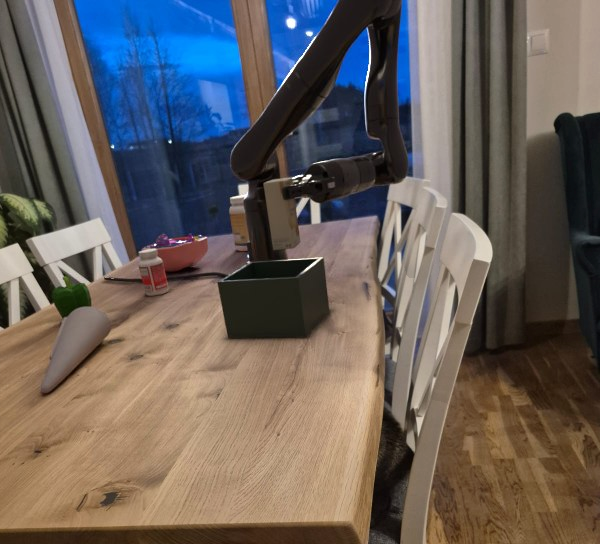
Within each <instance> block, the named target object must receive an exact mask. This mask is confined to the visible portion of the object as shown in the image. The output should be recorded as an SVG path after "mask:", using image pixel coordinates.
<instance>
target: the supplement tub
mask: <svg viewBox="0 0 600 544" xmlns="http://www.w3.org/2000/svg"><path fill="white" fill-rule="evenodd" d="M246 195H247V194H241V195H236V196H232V197H229V201H230V202H229V203H230V204H231V206H230V207H229V211H228V213H229V218H230V225H231V230H232V237H233V243H234V247H235V249H236V250H237V251H239V252H248V250H247V242H249V237H248V230H247V224H246V218H245V212H244V206H243V200H244V198H245V196H246Z"/></svg>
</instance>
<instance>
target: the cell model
mask: <svg viewBox="0 0 600 544" xmlns="http://www.w3.org/2000/svg"><path fill="white" fill-rule="evenodd" d="M147 249H157V252H158V255H157V257H159V258H161V259H162V261H163V266H164V270H165V272H167V273H173V272H175V273H176V272H179V271H181V270H183V269H186V268H190V267H194V266H195V265H198V264H199V263H200V262H201V261H202V260H203V259H204V258H205V256H206V255H207V253H208V250H209V242H208V237H207V236H203V235H201V234H199V235H196V236H193V235H192V233H188V236H183V237H175V238H169V237H168V236H167V234H165V233H161V234H160V235H159V236H158V237H157V238H156V240H155V242H154V243H151V244H148V245H145V246H144V247H142V248H141V251H143V250H147Z"/></svg>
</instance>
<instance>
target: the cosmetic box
mask: <svg viewBox="0 0 600 544" xmlns="http://www.w3.org/2000/svg"><path fill="white" fill-rule="evenodd" d="M292 178H293V177H284V178H283V177H282V178H281V179H274V180H271V181H267V182H265V183H264V190H265V197H266V204H267V210H268V217H269V224H270V231H271V238H272V244H273V250H281V249H286V250H290V249H291V250H293V249H295V248H297V246H299V244H301V235H300V227H299V222H298V213H297V205H296V198H293V199H289V200H284V199H283V195H282V188H283V187H286V186H291V185H293V181H292Z"/></svg>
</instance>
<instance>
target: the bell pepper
mask: <svg viewBox="0 0 600 544" xmlns="http://www.w3.org/2000/svg"><path fill="white" fill-rule="evenodd" d="M62 280H63V281H64V285H65V286H61V285H60V286H57V287H56V288H55V289H54V290H52V293H51V299H52V302H53V304H54V306H55V308H56V311H57V312H58V314H59V315H60V317H61V318H62V320H63V319H64V317H68V316H69V315H70V313H71V312H72V311H74V310H75V309H78V308H80V307H93V305H92V297H91V294H90V290H89V288H88V286H87V285H86V283H85V282H79V283H75V284H74V283H71V282H70V280H69V278H68V277H67V275H66V276H65V275H63V276H62Z"/></svg>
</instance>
